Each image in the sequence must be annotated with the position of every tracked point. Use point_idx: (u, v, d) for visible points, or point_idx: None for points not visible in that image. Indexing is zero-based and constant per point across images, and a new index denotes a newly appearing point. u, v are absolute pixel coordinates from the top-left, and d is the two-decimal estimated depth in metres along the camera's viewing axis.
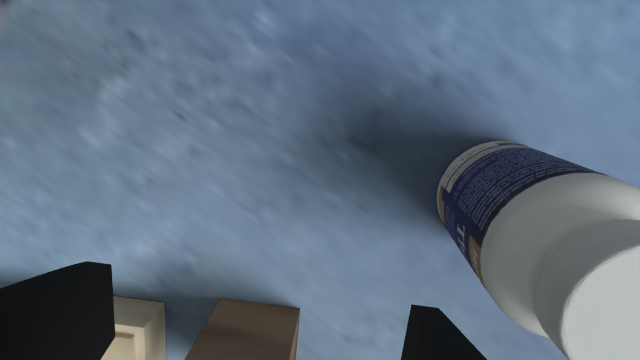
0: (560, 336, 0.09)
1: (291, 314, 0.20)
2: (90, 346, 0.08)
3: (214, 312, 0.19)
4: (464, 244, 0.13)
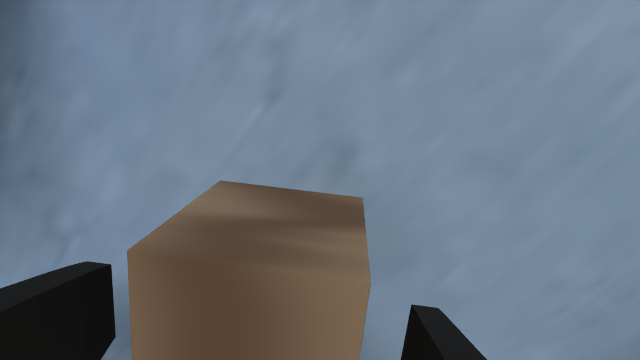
0: None
1: None
2: (90, 346, 0.08)
3: None
4: None
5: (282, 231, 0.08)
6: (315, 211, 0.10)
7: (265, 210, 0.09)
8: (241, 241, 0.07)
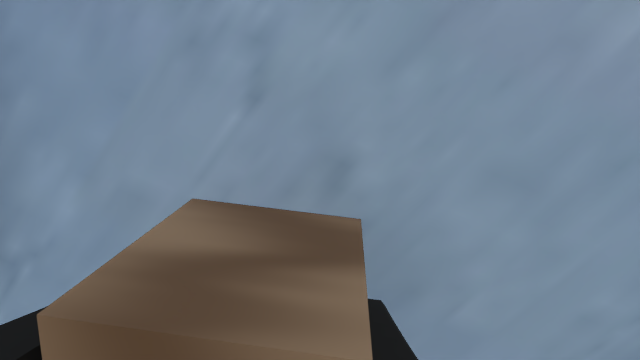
0: None
1: None
2: None
3: None
4: None
5: (258, 275, 0.06)
6: (302, 241, 0.08)
7: (239, 241, 0.07)
8: (201, 292, 0.06)
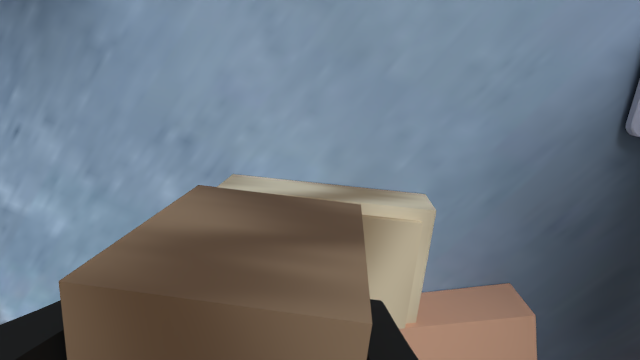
0: None
1: None
2: None
3: None
4: None
5: (263, 251, 0.07)
6: (305, 222, 0.08)
7: (245, 222, 0.08)
8: (210, 264, 0.06)
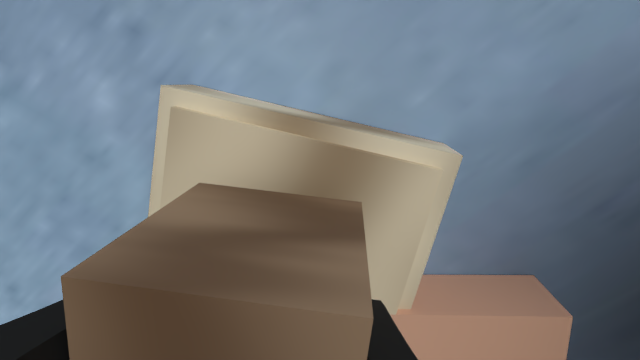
0: None
1: None
2: None
3: None
4: None
5: (264, 247, 0.07)
6: (305, 219, 0.08)
7: (246, 219, 0.08)
8: (211, 260, 0.06)
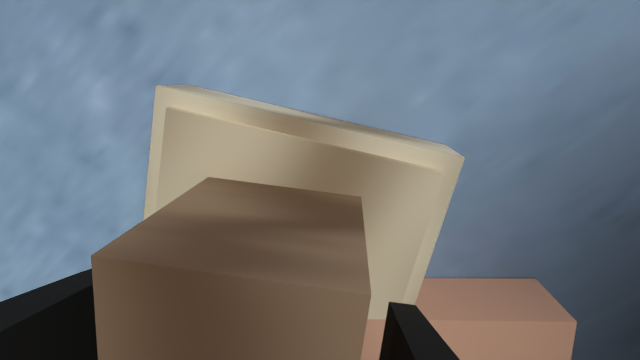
0: None
1: None
2: None
3: None
4: None
5: (272, 234, 0.07)
6: (309, 211, 0.09)
7: (254, 210, 0.08)
8: (224, 245, 0.07)
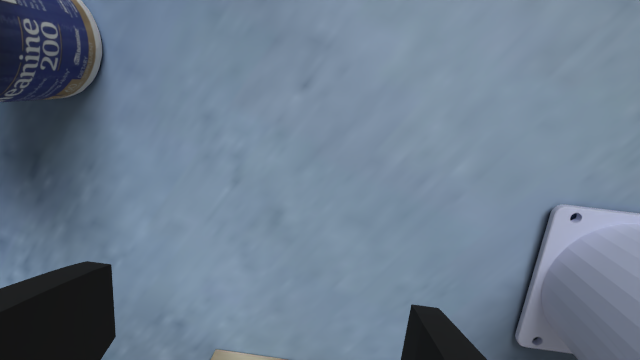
0: None
1: None
2: (90, 346, 0.08)
3: None
4: None
5: None
6: None
7: None
8: None
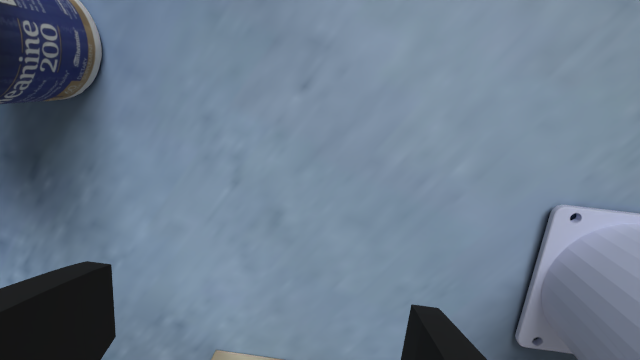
0: None
1: None
2: (90, 346, 0.08)
3: None
4: None
5: None
6: None
7: None
8: None
